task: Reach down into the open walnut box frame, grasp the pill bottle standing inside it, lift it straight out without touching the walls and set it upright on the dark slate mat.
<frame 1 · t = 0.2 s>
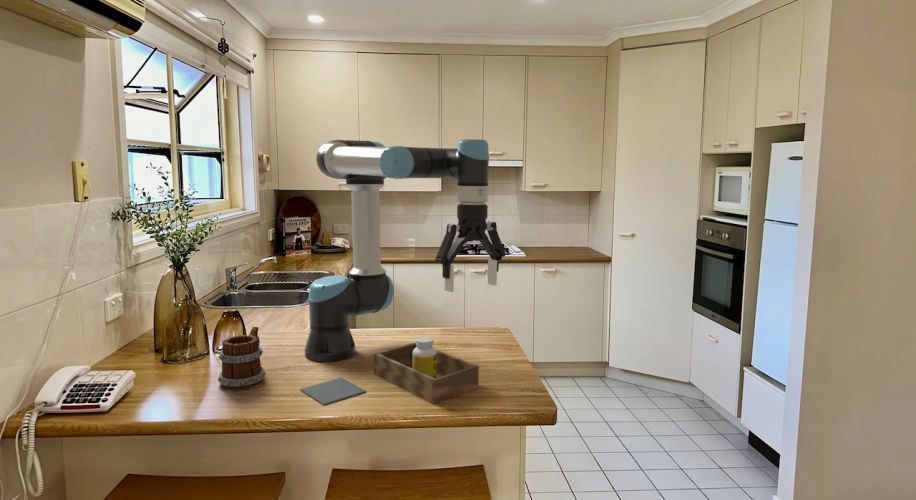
hand: (471, 287, 139), 27 cm above the table, fingers open, 13 cm apart
pill bottle: (424, 381, 149), resting in box frame
slate mat: (333, 391, 141), on the table
box frame: (424, 381, 149), on the table
mug: (244, 381, 148), on the table
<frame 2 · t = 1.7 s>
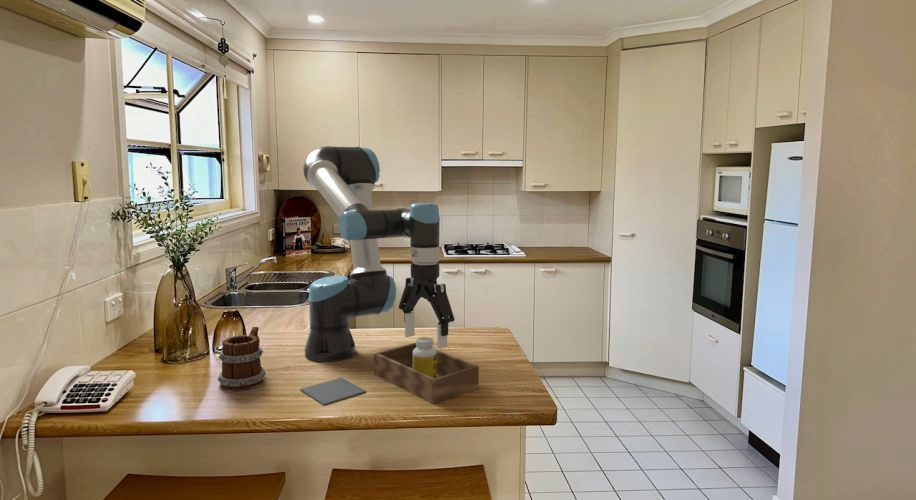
hand: (425, 341, 147), 11 cm above the table, fingers open, 13 cm apart
nothing on the table moved.
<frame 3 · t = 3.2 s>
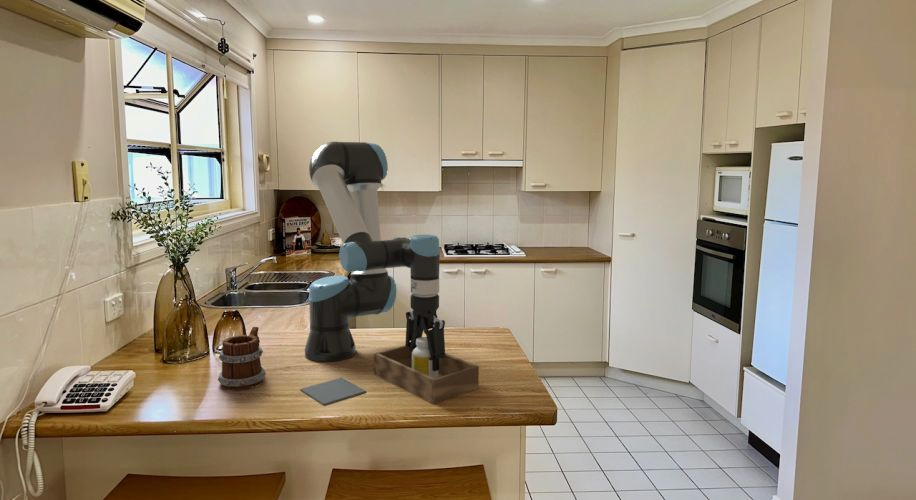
hand: (424, 377, 149), 1 cm above the table, fingers closed on pill bottle, 6 cm apart
pill bottle: (424, 381, 149), resting in box frame, touching gripper
everything else where it was.
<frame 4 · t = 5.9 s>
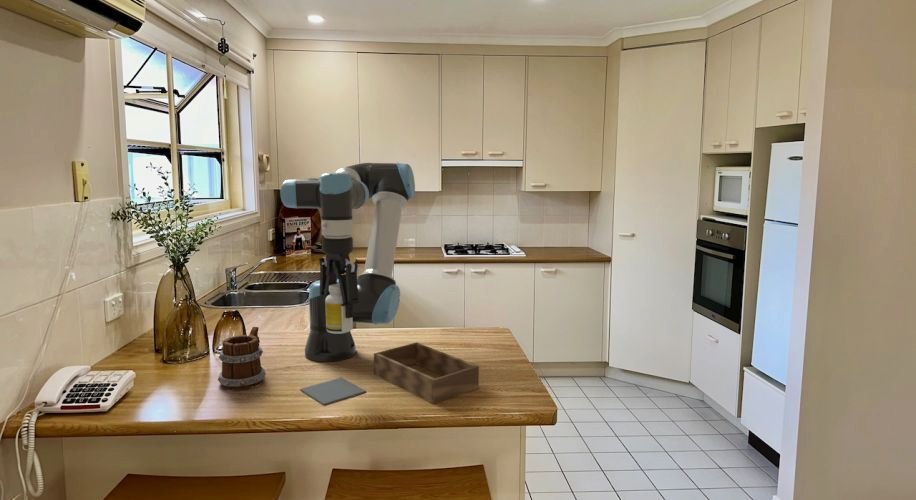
hand: (339, 326, 139), 17 cm above the table, fingers closed on pill bottle, 6 cm apart
pill bottle: (339, 331, 140), point 16 cm above the table, touching gripper
everything else where it was.
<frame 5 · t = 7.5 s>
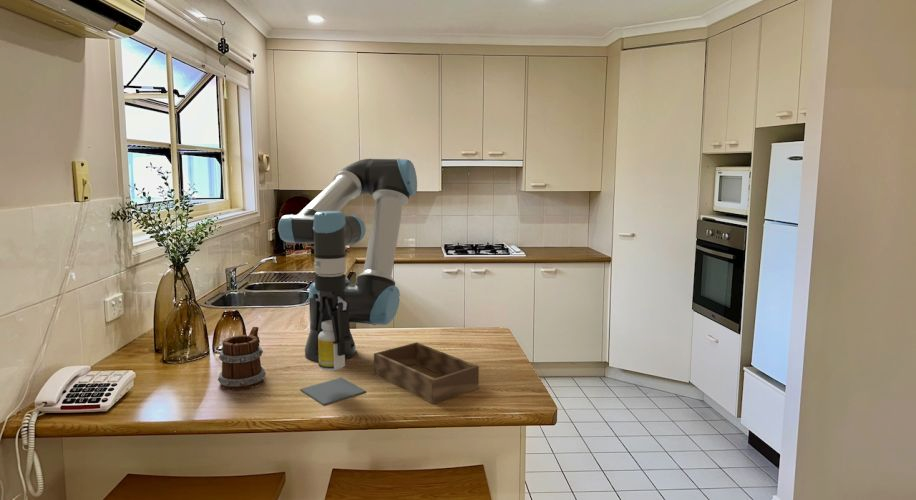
hand: (332, 363, 140), 8 cm above the table, fingers closed on pill bottle, 6 cm apart
pill bottle: (331, 367, 140), point 6 cm above the table, touching gripper
everything else where it was.
when the fingers open (3 cm above the table, at t = 8.6 s): pill bottle drops 1 cm, resting on slate mat.
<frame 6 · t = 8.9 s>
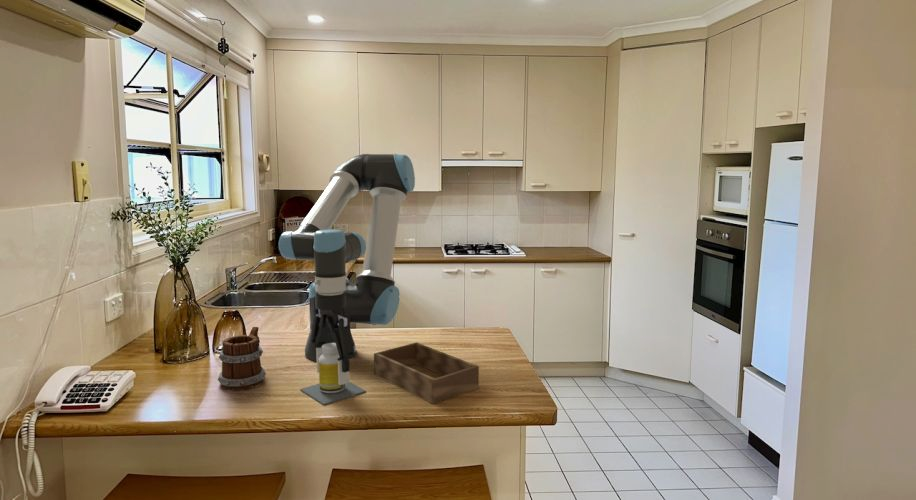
hand: (332, 377, 141), 4 cm above the table, fingers open, 10 cm apart
pill bottle: (332, 390, 141), resting on slate mat
everything else where it was.
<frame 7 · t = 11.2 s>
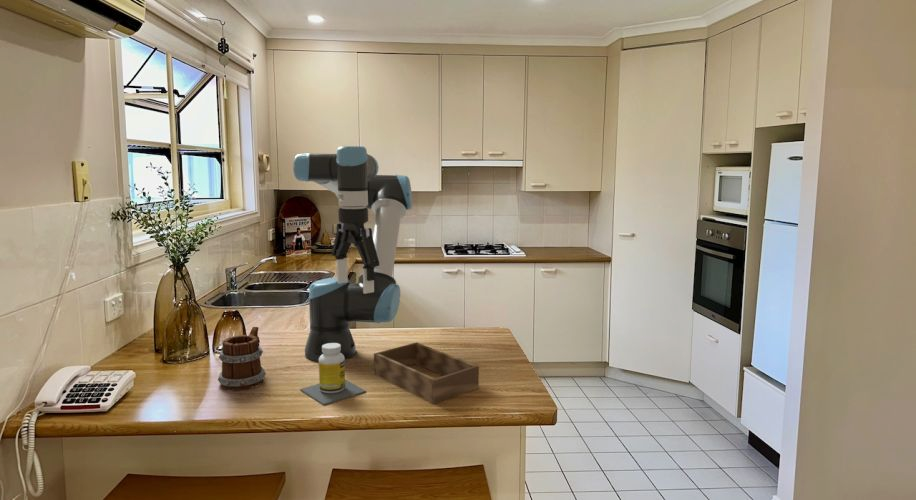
hand: (355, 287, 146), 25 cm above the table, fingers open, 13 cm apart
nothing on the table moved.
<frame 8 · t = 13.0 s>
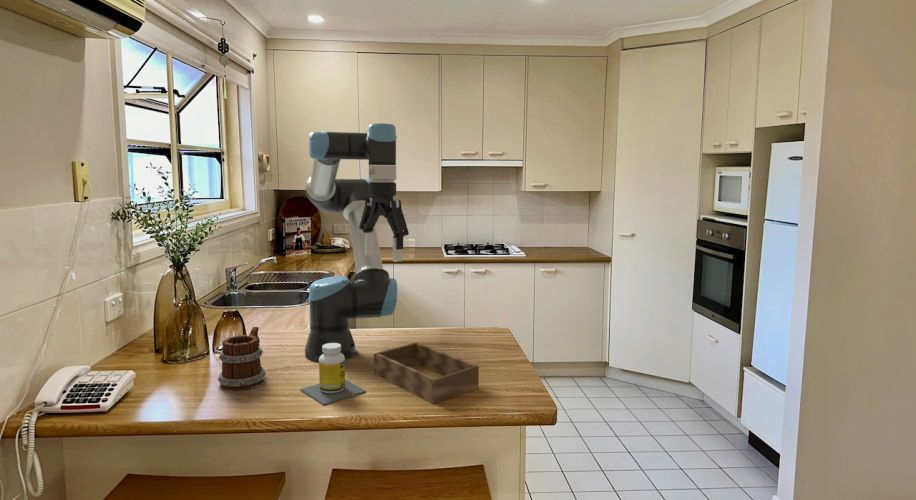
hand: (383, 258, 154), 32 cm above the table, fingers open, 13 cm apart
nothing on the table moved.
at the end: pill bottle inside the target area on the slate mat (0.3 cm from its centre), point 0.2 cm above the slate mat's base; pill bottle tilted 0°; the gripper is holding nothing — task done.
